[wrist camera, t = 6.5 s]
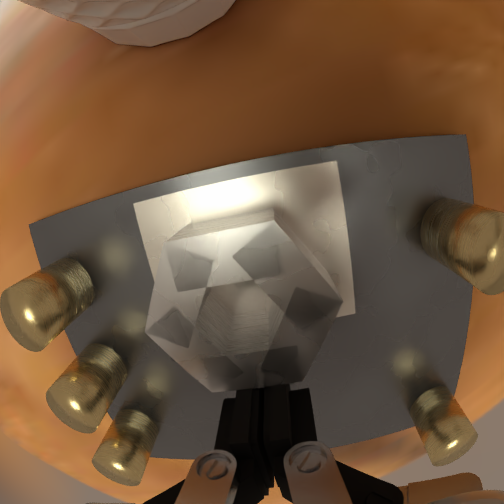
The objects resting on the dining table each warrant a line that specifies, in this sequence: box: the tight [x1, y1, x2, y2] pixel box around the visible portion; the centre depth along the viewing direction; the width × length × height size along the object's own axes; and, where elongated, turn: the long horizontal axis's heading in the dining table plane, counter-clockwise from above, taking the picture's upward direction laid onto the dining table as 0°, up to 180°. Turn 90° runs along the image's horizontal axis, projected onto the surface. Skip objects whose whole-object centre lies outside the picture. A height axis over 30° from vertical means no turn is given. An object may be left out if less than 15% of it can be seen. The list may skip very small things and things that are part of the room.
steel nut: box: [145, 207, 343, 392], centre depth 9 cm, size 5×6×2 cm
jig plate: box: [0, 134, 504, 486], centre depth 10 cm, size 14×18×4 cm
